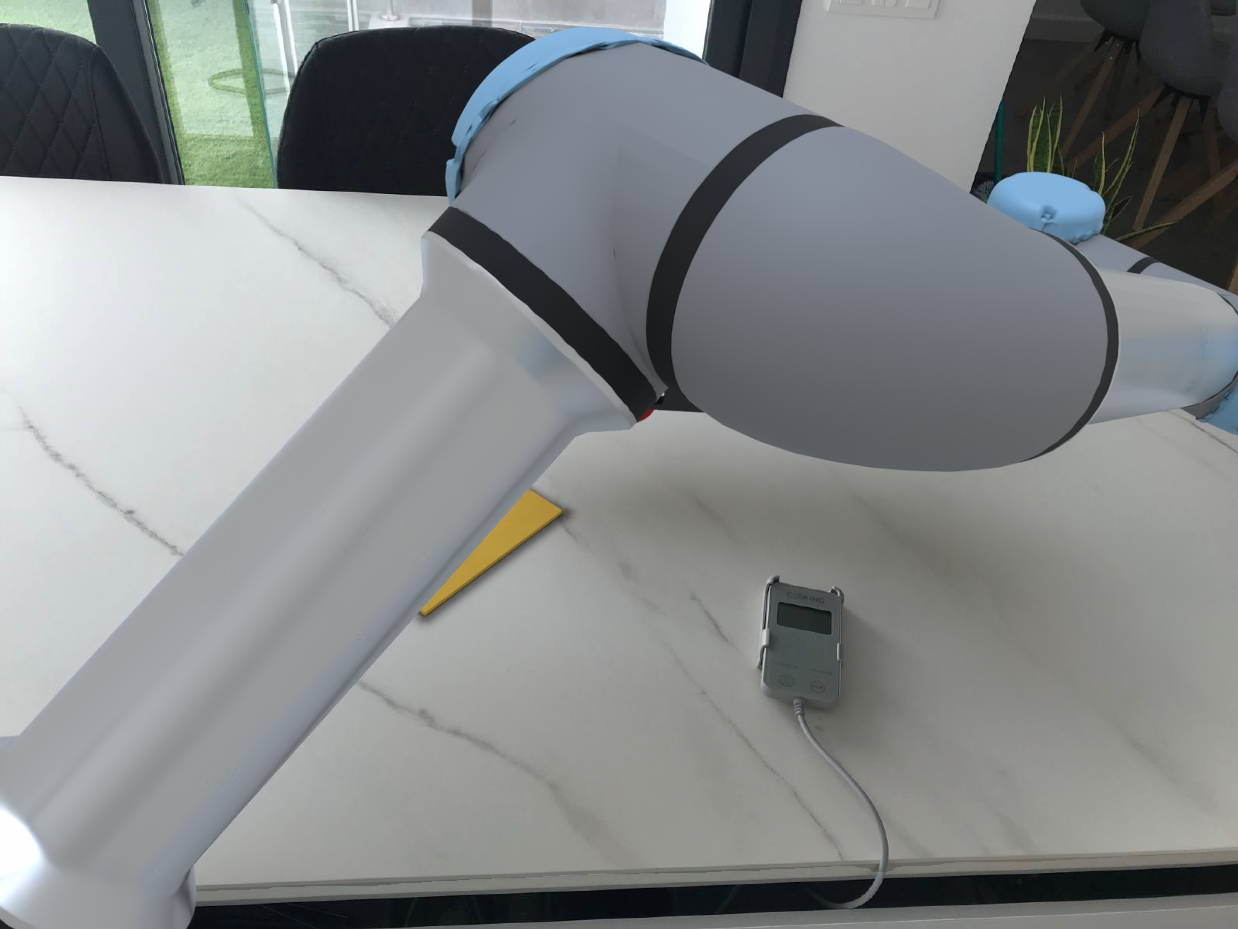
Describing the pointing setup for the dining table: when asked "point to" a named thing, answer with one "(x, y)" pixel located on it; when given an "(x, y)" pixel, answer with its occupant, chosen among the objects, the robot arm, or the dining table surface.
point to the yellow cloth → (499, 543)
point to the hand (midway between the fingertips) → (557, 334)
